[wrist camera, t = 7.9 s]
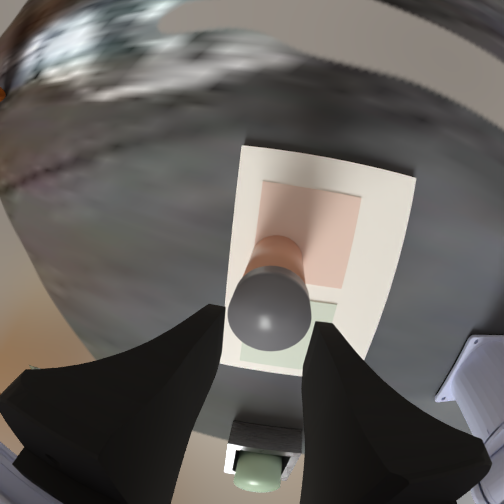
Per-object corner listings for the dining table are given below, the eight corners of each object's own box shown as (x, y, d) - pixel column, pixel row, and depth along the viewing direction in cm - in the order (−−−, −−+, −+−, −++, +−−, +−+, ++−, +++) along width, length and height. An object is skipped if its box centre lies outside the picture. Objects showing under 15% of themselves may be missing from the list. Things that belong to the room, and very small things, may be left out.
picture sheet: (412, 177, 16) (416, 178, 15) (353, 376, 21) (355, 381, 20) (243, 145, 17) (241, 145, 16) (221, 358, 22) (219, 364, 21)
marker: (307, 236, 17) (318, 284, 11) (300, 287, 18) (303, 355, 12) (251, 230, 18) (229, 274, 11) (247, 281, 19) (226, 345, 12)
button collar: (301, 429, 24) (301, 453, 21) (287, 460, 26) (286, 480, 23) (233, 420, 24) (227, 443, 21) (228, 452, 26) (224, 472, 24)
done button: (286, 446, 23) (284, 478, 19) (278, 464, 24) (275, 494, 20) (242, 440, 23) (235, 472, 19) (238, 459, 25) (232, 488, 21)
